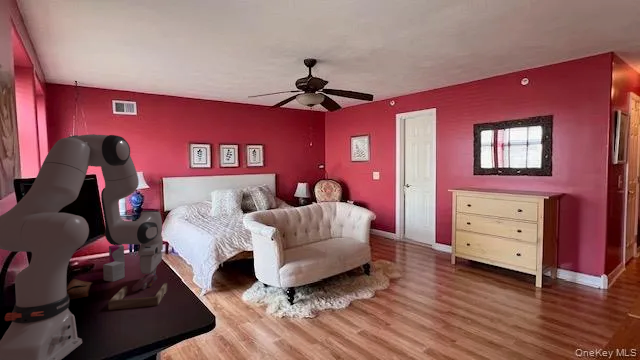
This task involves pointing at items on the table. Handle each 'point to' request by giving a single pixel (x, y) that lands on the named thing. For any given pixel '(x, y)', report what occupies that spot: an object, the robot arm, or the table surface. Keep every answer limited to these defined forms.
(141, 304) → the birch dock
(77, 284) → the sunglasses case
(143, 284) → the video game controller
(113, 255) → the supplement box
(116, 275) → the product box
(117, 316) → the table surface
